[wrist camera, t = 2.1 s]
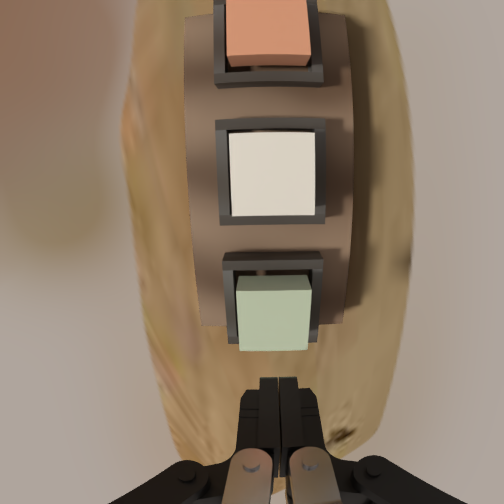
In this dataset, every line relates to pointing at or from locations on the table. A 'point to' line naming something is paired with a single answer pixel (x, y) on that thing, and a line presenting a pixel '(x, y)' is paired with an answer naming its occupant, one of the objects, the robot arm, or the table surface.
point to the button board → (268, 120)
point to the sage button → (273, 312)
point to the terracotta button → (267, 32)
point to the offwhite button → (272, 173)
